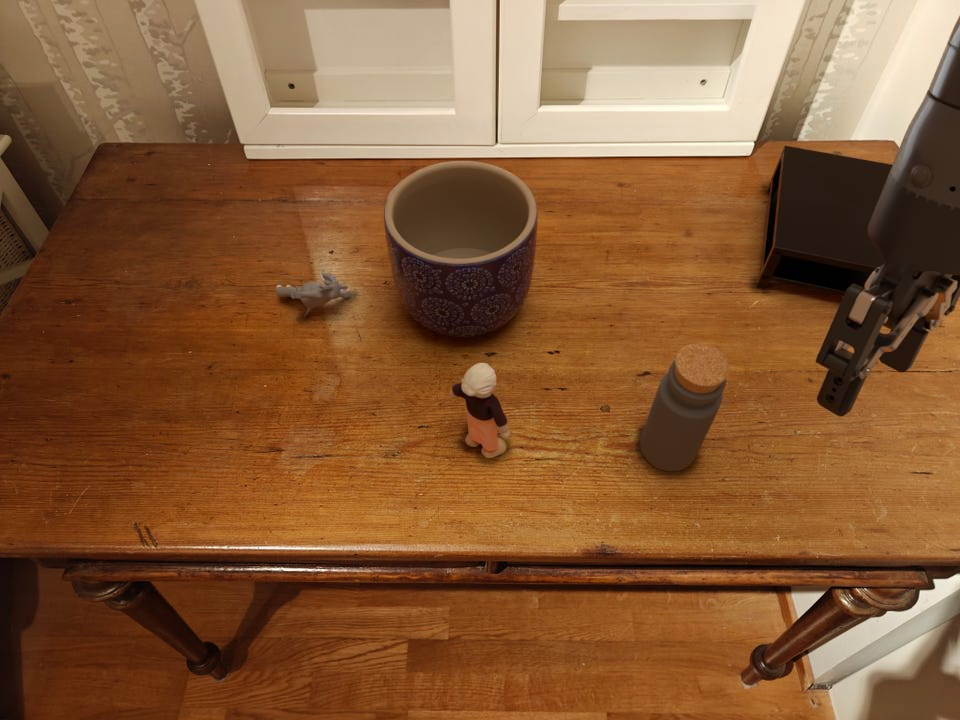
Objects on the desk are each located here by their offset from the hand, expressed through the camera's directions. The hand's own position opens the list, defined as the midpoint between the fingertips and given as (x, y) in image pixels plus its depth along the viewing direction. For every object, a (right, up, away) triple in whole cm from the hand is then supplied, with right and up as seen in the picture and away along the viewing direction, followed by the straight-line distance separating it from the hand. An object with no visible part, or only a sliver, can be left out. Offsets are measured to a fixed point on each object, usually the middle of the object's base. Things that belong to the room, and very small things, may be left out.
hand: (863, 386), depth 52 cm
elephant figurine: (-49, +8, +34) cm, 60 cm away
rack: (+16, +17, +40) cm, 46 cm away
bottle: (-9, -7, +22) cm, 25 cm away
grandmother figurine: (-28, -7, +23) cm, 37 cm away
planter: (-30, +9, +35) cm, 47 cm away
